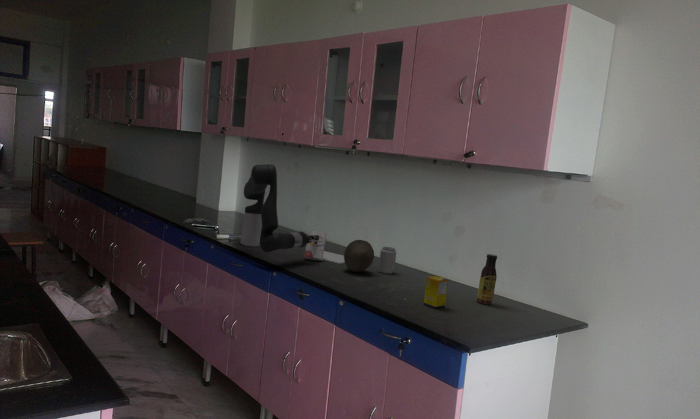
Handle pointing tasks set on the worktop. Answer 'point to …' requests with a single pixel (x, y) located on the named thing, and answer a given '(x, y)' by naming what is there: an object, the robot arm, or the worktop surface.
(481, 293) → the sauce bottle
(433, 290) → the supplement box
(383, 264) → the can
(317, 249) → the ink cartridge box
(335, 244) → the worktop surface
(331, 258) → the mat
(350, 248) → the cantaloupe
